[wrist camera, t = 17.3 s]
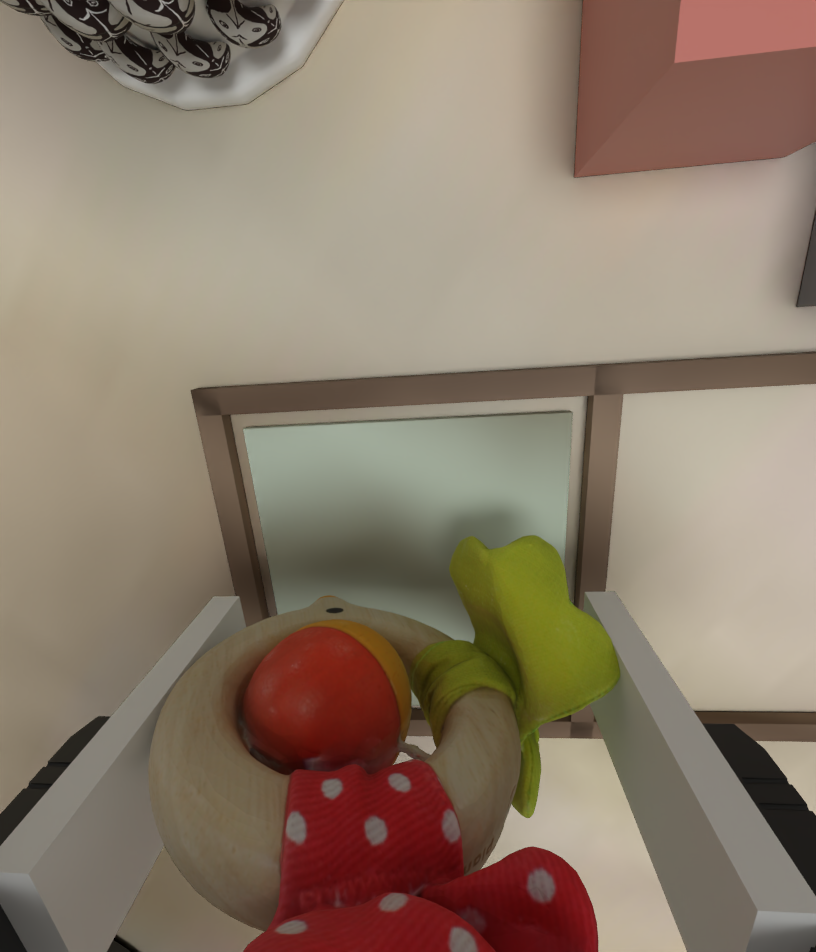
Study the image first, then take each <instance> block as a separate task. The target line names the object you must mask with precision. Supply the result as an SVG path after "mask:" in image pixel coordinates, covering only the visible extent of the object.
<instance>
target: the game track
mask: <svg viewBox="0 0 816 952" xmlns="http://www.w3.org/2000/svg"><path fill="white" fill-rule="evenodd" d="M800 384H816V352H802V353H785V354H768V355H751V356H734V357H717V358H700V359H683V360H666V361H649V362H632V363H615V364H598V365H581V366H564V367H547V368H530V369H513V370H496V371H479V372H462V373H445V374H428V375H411V376H394V377H377V378H360V379H343V380H326V381H309V382H292V383H275V384H258V385H241V386H225V387H208V388H197V389H193V390H191V394H192V399H193V403H194V408H195V412H196V417H197V421H198V426H199V431H200V435H201V440H202V444H203V449H204V453H205V458H206V462H207V467H208V472H209V476H210V481H211V485H212V490H213V494H214V499H215V503H216V508H217V512H218V517H219V522H220V526H221V531H222V535H223V540H224V544H225V549H226V553H227V558H228V563H229V567H230V572H231V576H232V581H233V585H234V590H235V594H236V596H239V597H240V602H241V606H242V611H243V615H244V620H245V625H246V627H248V626H251V625H253V624H255V623H257V622H260V621H262V620H264V619H267V618H269V615H268V610H267V605H266V599H265V594H264V589H263V584H262V579H261V574H260V569H259V564H258V558H257V553H256V548H255V543H254V538H253V533H252V528H251V523H250V517H249V512H248V507H247V502H246V497H245V492H244V487H243V482H242V476H241V471H240V466H239V461H238V456H237V451H236V446H235V441H234V435H233V430H232V425H231V420H230V415H233V414H251V413H270V412H289V411H308V410H327V409H346V408H365V407H384V406H403V405H422V404H441V403H460V402H478V401H497V400H516V399H535V398H554V397H573V396H588V404H587V420H586V435H585V450H584V465H583V480H582V495H581V510H580V525H579V541H578V556H577V571H576V586H575V601H574V605H575V606H576V607H577V608H578V609H580V610H581V611H583V609H584V596H585V592H605V589H606V578H607V567H608V556H609V545H610V535H611V524H612V513H613V502H614V491H615V480H616V469H617V458H618V447H619V436H620V425H621V414H622V403H623V394H630V393H649V392H668V391H687V390H705V389H724V388H743V387H762V386H781V385H800ZM572 417H573V412H571V411H556V412H536V413H516V414H496V415H476V416H456V417H436V418H416V419H396V420H376V421H356V422H336V423H316V424H296V425H276V426H256V427H246V428H244V429H243V432H244V437H245V442H246V448H247V453H248V458H249V464H250V469H251V474H252V480H253V485H254V490H255V496H256V501H257V506H258V512H259V517H260V522H261V528H262V533H263V539H264V544H265V549H266V555H267V560H268V565H269V571H270V576H271V581H272V587H273V592H274V597H275V603H276V608H277V613H278V615H279V614H283V613H286V612H290V611H295V610H299V609H303V608H306V607H309V606H310V605H311V604H313V603H314V602H315V601H316V600H318V599H319V598H320V597H323V596H328V595H331V596H335V597H338V598H341V599H343V600H345V601H346V602H348V603H351V604H354V605H357V606H361V607H367V608H374V609H378V610H383V611H388V612H392V613H395V614H399V615H402V616H405V617H408V618H411V619H414V620H417V621H419V622H421V623H424V624H426V625H428V626H431V627H433V628H435V629H437V630H439V631H441V632H442V633H444V634H446V635H448V636H450V637H451V638H453V639H454V640H464V641H469V642H471V643H472V644H473V642H474V638H475V631H474V628H473V625H472V623H471V620H470V617H469V614H468V612H467V611H466V609H465V607H464V605H463V603H462V600H461V598H460V596H459V593H458V591H457V589H456V586H455V584H454V581H453V579H452V577H451V575H450V571H449V566H450V562H451V559H452V555H453V553H454V551H455V549H456V547H457V546H458V544H459V542H460V541H461V540H463V539H465V538H467V537H469V536H474V537H476V538H477V539H479V540H480V541H481V542H482V543H483V544H484V545H485V546H486V547H487V548H488V549H493V548H500V547H504V546H506V545H508V544H510V543H511V542H513V541H515V540H517V539H519V538H521V537H523V536H528V535H536V536H539V537H541V538H542V539H543V540H545V541H546V542H548V543H549V544H551V545H552V546H553V547H554V548H555V549H556V550H557V552H558V553H559V555H560V557H561V560H562V562H563V565H564V561H565V543H566V525H567V507H568V489H569V471H570V453H571V435H572ZM411 694H412V704H411V706H420V704H419V702H418V699H417V698H416V696H415V695H414V693H413V692H412V690H411ZM411 710H412V713H411V719H410V725H409V729H408V733H407V736H432V731H431V727H430V726H429V724H428V723H427V721H426V719H425V716H424V713H423V711H422V709H411ZM695 714H696V715H697V717H698V718H699V720H700V721H701V723H712V724H735V725H736V726H737V727H738V728H740V729H741V730H742V731H743V732H745V733H746V734H747V735H748V736H749V737H751V738H752V739H753V740H754V741H799V742H816V713H780V712H695ZM538 729H539V735H540V736H539V738H590V739H603V736H602V734H601V731H600V729H599V726H598V724H597V721H596V719H595V716H594V714H593V711H592V708H591V706H590V704H589V705H587V706H586V707H585V708H583V709H582V710H580V711H578V712H576V713H574V714H572V715H569V716H566V717H563V718H560V719H557V720H554V721H551V722H548V723H544V724H542V725H540V727H539V728H538Z"/></svg>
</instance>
